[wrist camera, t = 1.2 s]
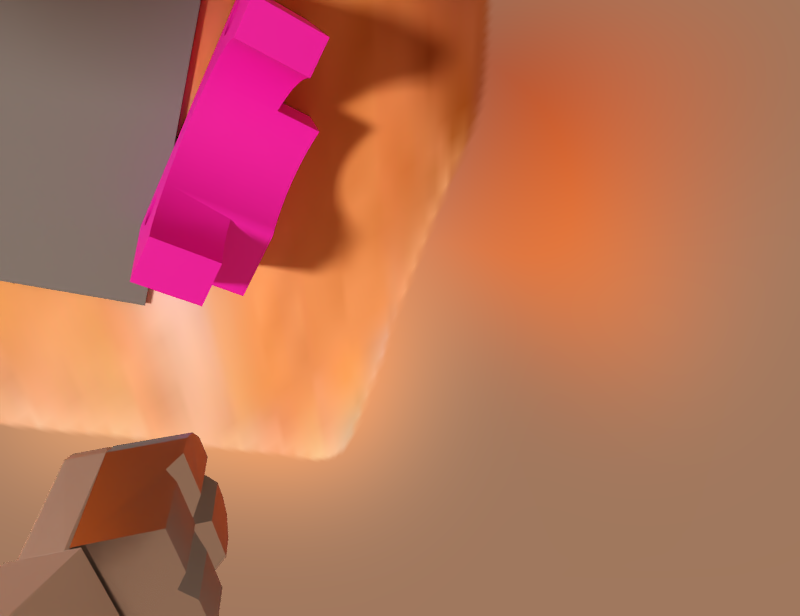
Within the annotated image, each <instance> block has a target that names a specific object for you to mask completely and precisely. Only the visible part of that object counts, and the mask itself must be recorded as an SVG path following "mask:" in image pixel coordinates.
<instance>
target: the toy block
mask: <svg viewBox="0 0 800 616" xmlns="http://www.w3.org/2000/svg"><path fill="white" fill-rule="evenodd" d="M329 38H330V37H328V36H327V35H326V34H325V33H323V32H322V31H321V30H319V29H318V28H317V27H316V26H314V25H313V24H312V23H310V22H309V21H308V20H306V19H305V18H303V17H301V16H300V15H298V14H296V13H294V12H293V11H291V10H289V9H287V8H286V7H284V6H282V5H280V4H279V3H277V2H275V1H273V0H236V1H235V3H234V5H233V8H232V10H231V12H230V15H229V17H228V20H227V22H226V24H225V27H224V29H223V31H222V34H221V36H220V39H219V41H218V43H217V46H216V48H215V50H214V53H213V55H212V58H211V60H210V62H209V65H208V67H207V70H206V72H205V74H204V77H203V79H202V81H201V84H200V86H199V89H198V91H197V93H196V96H195V98H194V100H193V103H192V105H191V108H190V110H189V112H188V115H187V117H186V119H185V122H184V124H183V127H182V129H181V131H180V134H179V136H178V138H177V141H176V143H175V146H174V148H173V150H172V153H171V155H170V158H169V160H168V162H167V165H166V167H165V169H164V172H163V174H162V177H161V179H160V181H159V184H158V186H157V188H156V191H155V193H154V196H153V198H152V200H151V203H150V205H149V207H148V210H147V212H146V215H145V217H144V219H143V222H142V224H141V227H140V232H139V237H138V242H137V247H136V252H135V257H134V262H133V268H132V273H131V278H130V282H132V283H135V284H138V285H141V286H144V287H147V288H150V289H153V290H155V291H158V292H161V293H164V294H167V295H170V296H173V297H176V298H179V299H182V300H185V301H188V302H191V303H194V304H197V305H200V306H202V305H203V303H204V301H205V299H206V297H207V294H208V292H209V290H210V288H211V286H212V285H214V286H217V287H219V288H222V289H225V290H228V291H231V292H233V293H236V294H239V295H242V296H243V295H244V293H245V291H246V289H247V287H248V285H249V283H250V281H251V279H252V277H253V275H254V273H255V271H256V269H257V267H258V265H259V263H260V261H261V259H262V257H263V255H264V253H265V251H266V249H267V247H268V245H269V243H270V241H271V239H272V237H273V234H274V230H275V226H276V223H277V220H278V217H279V214H280V211H281V208H282V205H283V203H284V200H285V197H286V195H287V192H288V190H289V188H290V185H291V183H292V181H293V179H294V176H295V174H296V172H297V170H298V168H299V166H300V164H301V162H302V160H303V158H304V156H305V155H306V153H307V151H308V149H309V148H310V146H311V144H312V143H313V141H314V139H315V138H316V136H317V135H318V133H319V130H318V129H317V127H316V125H315V124H314V122H313V121H312V119H311V117H309V116H307V115H305V114H303V113H302V112H300V111H298V110H296V109H294V108H292V107H290V106H288V105H286V104H284V103H283V102H284V100H285V99H286V97H287V96H288V95H289V93H290V92H291V91H292V90H293V88H294V87H295V86H296V85H297V84H298V83H299V82H301V81H302V80H304V79H306V78H311V75H312V73H313V71H314V69H315V67H316V65H317V63H318V61H319V59H320V56H321V54H322V52H323V50H324V48H325V46H326V44H327V42H328V40H329Z"/></svg>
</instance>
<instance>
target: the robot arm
mask: <svg viewBox="0 0 800 616" xmlns="http://www.w3.org/2000/svg"><path fill="white" fill-rule="evenodd" d="M206 462H207V455H206V452H205V450H204V447H203V445H202V443H201V441H200V438H199V437H198V436H197V435H195V434H194V433H187V434H181V435H175V436H169V437H164V438H158V439H152V440H146V441H140V442H135V443H129V444H123V445H117V446H113V447H109V448H108V447H107V448H102V449H97V450H91V451H86V452H81V453H75V454H72V455H71V456H70V457H68V458H67V459H65V460H64V462H63V463H62V465H61V468H60V470H59V472H58V474H57V476H56V478H55V480H54V483H53V485H52V487H51V489H50V491H49V493H48V496H47V498H46V500H45V502H44V504H43V506H42V508H41V511H40V513H39V515H38V517H37V519H36V521H35V524H34V526H33V528H32V530H31V532H30V534H29V536H28V538H27V541H26V543H25V545H24V547H23V549H22V551H21V554H20V556H19V558H18V560H16V561H10V562H6V563H3V564H2V565H1V566H0V616H219V609H220V602H221V594H222V585H221V583H220V581H219V578H218V576H217V574H216V571H215V570H216V569H217V568H218V566H219V565H220V564H221V563H222V561H223V560H224V559H225V558H226V554H227V545H228V525H227V513H226V508H225V504H224V500H223V496H222V493H221V491H220V488H219V485H218V483H217V482H216V481H214V480H212V479H211V478H209V477H207V476H205V475H204V474H205V468H206Z"/></svg>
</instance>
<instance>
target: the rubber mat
mask: <svg viewBox="0 0 800 616" xmlns="http://www.w3.org/2000/svg"><path fill="white" fill-rule="evenodd" d="M200 2H201V0H0V281H6V282H12V283H17V284H23V285H29V286H35V287H41V288H46V289H52V290H58V291H64V292H70V293H76V294H81V295H87V296H93V297H99V298H105V299H110V300H116V301H122V302H128V303H134V304H140V305H145V302H146V297H147V291H148V288H147V287H144V286H141V285H138V284H135V283H132V282H130V278H131V273H132V268H133V262H134V257H135V252H136V247H137V242H138V237H139V232H140V227H141V224H142V222H143V219H144V217H145V215H146V212H147V210H148V207H149V205H150V203H151V200H152V198H153V196H154V193H155V191H156V188H157V186H158V184H159V181H160V179H161V177H162V174H163V172H164V169H165V167H166V165H167V162H168V160H169V158H170V155H171V153H172V150H173V148H174V144H175V139H176V133H177V128H178V122H179V117H180V111H181V106H182V100H183V95H184V89H185V84H186V79H187V73H188V68H189V62H190V57H191V51H192V46H193V40H194V35H195V29H196V24H197V18H198V13H199V8H200Z"/></svg>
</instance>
